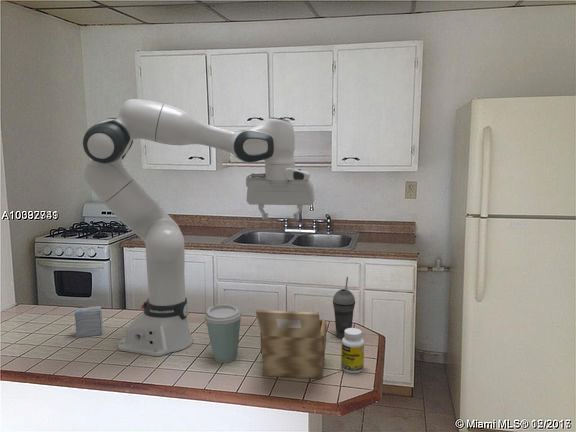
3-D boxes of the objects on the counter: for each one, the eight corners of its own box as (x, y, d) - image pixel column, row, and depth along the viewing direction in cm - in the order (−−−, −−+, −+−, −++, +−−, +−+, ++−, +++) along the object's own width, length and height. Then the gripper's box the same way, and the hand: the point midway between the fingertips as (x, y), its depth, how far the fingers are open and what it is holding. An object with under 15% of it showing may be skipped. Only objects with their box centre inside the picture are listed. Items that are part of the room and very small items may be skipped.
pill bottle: (338, 371, 133) (338, 333, 131) (344, 362, 138) (344, 325, 137) (361, 375, 130) (361, 336, 129) (365, 365, 136) (366, 328, 134)
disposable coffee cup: (250, 358, 141) (249, 309, 139) (219, 370, 134) (217, 318, 132) (229, 347, 149) (228, 300, 146) (199, 357, 142) (197, 308, 139)
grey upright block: (103, 330, 163) (101, 305, 162) (102, 335, 159) (100, 309, 158) (77, 333, 161) (75, 308, 159) (76, 338, 157) (74, 312, 155)
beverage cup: (340, 330, 161) (340, 271, 158) (359, 335, 157) (360, 275, 154) (327, 337, 156) (328, 276, 153) (347, 342, 151) (347, 281, 148)
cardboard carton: (260, 375, 131) (259, 333, 129) (268, 356, 143) (267, 317, 141) (323, 379, 129) (323, 336, 127) (326, 359, 140) (326, 319, 138)
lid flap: (262, 333, 129) (262, 336, 128) (256, 309, 120) (255, 312, 120) (321, 336, 126) (320, 338, 126) (319, 312, 118) (318, 314, 117)
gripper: (243, 174, 142) (244, 220, 144) (313, 174, 139) (313, 221, 141) (248, 172, 148) (249, 217, 150) (314, 172, 145) (314, 218, 147)
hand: (280, 219), depth 146 cm, fingers open, 8 cm apart
